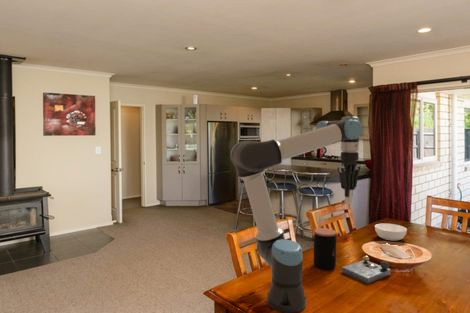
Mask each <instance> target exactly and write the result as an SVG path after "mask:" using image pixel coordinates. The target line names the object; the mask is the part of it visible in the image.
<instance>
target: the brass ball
mask: <svg viewBox="0 0 470 313" xmlns="http://www.w3.org/2000/svg"><path fill="white" fill-rule="evenodd" d="M362 260H363V261H365V262H368V261H369V262H370V257H369V256H368V255H363V257H362Z"/></svg>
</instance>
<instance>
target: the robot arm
mask: <svg viewBox="0 0 470 313" xmlns="http://www.w3.org/2000/svg"><path fill="white" fill-rule="evenodd" d="M362 134H363V125H362V123H361V122H360V118H359V117H357V116H343V117H341V120H329V121H328V120H321V121H319V122H317V123H316V126H315V129H312V130H310V131H306V132H303V133H299V134H297V135H292V136H289V137H286V138H282V139H280V140H275V139H271V140H266V141H250V140H243V141H239V142H238V143H236V144H234V146H233V147H232V148H231V150H230V161H231V162H232V164H233V165H234V167H235V170H236V173H237V177H238V178H240V179H242V180H243V184H244V186H245V191H246V194H247V197H248V200H249V205H250V208H251V211H252V215H253V218H254V222H255V226H256V228H257V234H256V236H255V238H256V249H257V252H258V254H259V256H260V258H262V259H263V260H264V261H265V262H266V263H267V265H268V266H270V268H271V284H270V286H269V291H268V292H267V295H266V297H267V298H266V303H267V306H269V308H271V309H273V310H274V311H277V312H280V313H298V312H301V311H303V310H304V309H306V306H307V297H306V295H305V294H306V293H305V291H304V287H303V259H304V257H303V256H304V255H303V248H302V246H301V245H300V244H299V243H298V242H296V241H294V240H290V239H286V237H285V234H284V231H283V229H282V228H281V227H279V226H278V223H277V218H276V215H275V211H274V208H273V205H272V201H271V198H270V194H269V191H268V190H269V189H268V187H267V183H266V179H265V177H264V173H265V172H266V171H267V169H270V168H271V167H275V166H279V165H281V164H282V163H283V161H285V160H287V159H290V158H293V157H297V156H300V155H303V154H306V153H308V152H309V153H310V152H312V151H315V150H319V149H321V148H324V147H325V148H326V147H328V146H331V145H334V144H337V143H340V151H341V153H340V160H341V161H342V163H341V166H340V167H337V171H338V173H339V174H338V175H339V180H340V188H341V189H343V190H344V204H345V205H353V194H354V193H353V191H355V190H356V188H357V185H358V179H359V175H360V174H359V173H360V170H361V166H359V165H358V164H357V162H358V161H359V154H360V153H359V149H360V146H359V145H360V137H361V136H362Z"/></svg>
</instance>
